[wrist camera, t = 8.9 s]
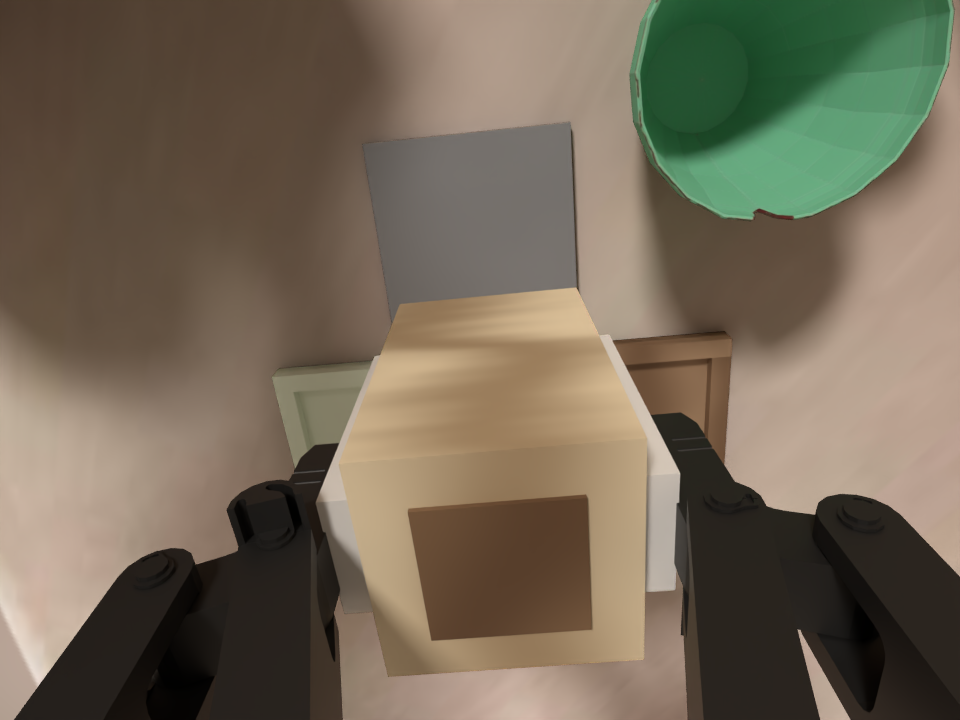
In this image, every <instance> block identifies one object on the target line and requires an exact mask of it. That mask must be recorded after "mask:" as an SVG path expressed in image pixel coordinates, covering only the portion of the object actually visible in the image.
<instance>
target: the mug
mask: <svg viewBox="0 0 960 720" xmlns="http://www.w3.org/2000/svg"><path fill="white" fill-rule="evenodd" d="M954 12H955V9H954V4H953V0H652V1H651V3H650V5H649V7H648V9H647V11H646V13H645V15H644V17H643V19H642V21H641V23H640V27H639V31H638V36H637V41H636V46H635V50H634V55H633V60H632V65H631V69H630V89H631V102H632V113H633V123H634V125H635V127H636V130H637V132H638V135H639V137H640V140H641V142H642V144H643V147H644V149H645V152H646V154H647V157H648V159H649V161H650V163H651V164H652V165H653V167H654V168H655V169H656V170H657V171H658V172H659V173H660V174H661V176H662V177H663V178H664V179H665V180H666V181H667V182H668V183H669V184H670V186H671V187H672V188H673V189H674V190H675V191H676V192H677V193H678V194H679V195H680V196H681V197H683V198H685V199H687V200H688V201H690V202H692V203H694V204H696V205H698V206H700V207H702V208H704V209H706V210H707V211H709V212H711V213H713V214H715V215H717V216H719V217H721V218H723V219H733V220H743V221H753V220H754V219H755V215H754V214H755V213H757V212H760V213H762V214H765V215H768V216H770V217H773V218H776V219H788V220H796V219H801V218H807V217H812V216H814V215H816V214H818V213H820V212H822V211H825V210H827V209H829V208H831V207H833V206H835V205H837V204H839V203H841V202H843V201H845V200H847V199H849V198H852V197H854V196H856V195H857V194H858V193H859V192H861V191H862V190H863V189H864V188H865V187H866V186H868V185H869V184H870V183H871V182H872V181H874V180H875V179H876V178H877V177H878V176H879V175H881V174H882V173H883V172H884V171H885V170H887V169H888V168H889V167H890V166H891V165H892V164H894V163H895V162H896V161H897V159H898V158H899V157H900V155H901V154H902V153H903V151H904V150H905V148H906V147H907V146H908V144H909V143H910V141H911V140H912V139H913V137H914V136H915V135H916V133H917V132H918V130H919V129H920V128H921V126H922V125H923V123H924V122H925V121H926V119H927V118H928V116H929V114H930V111H931V109H932V106H933V104H934V101H935V99H936V96H937V94H938V91H939V88H940V86H941V83H942V81H943V78H944V76H945V73H946V71H947V68H948V66H949V59H950V50H951V40H952V31H953V21H954Z"/></svg>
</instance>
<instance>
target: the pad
mask: <svg viewBox="0 0 960 720" xmlns="http://www.w3.org/2000/svg"><path fill="white" fill-rule="evenodd" d="M362 145H363V151H364V158H365V164H366V170H367V176H368V182H369V188H370V194H371V200H372V206H373V212H374V218H375V224H376V231H377V237H378V243H379V249H380V255H381V261H382V267H383V273H384V279H385V285H386V291H387V297H388V304H389V310H390V316H391V322H392V323H393V320H394V318H395V315H396V313H397V310H398V307H399V305H400V304H407V303H417V302H428V301H438V300H449V299H459V298H470V297H480V296H491V295H502V294H512V293H523V292H533V291H544V290H554V289H565V288H575V287H576V288H577V281H576V255H575V229H574V203H573V177H572V151H571V125H570V122H563V123H554V124H544V125H535V126H525V127H516V128H506V129H497V130H487V131H478V132H468V133H459V134H449V135H440V136H430V137H421V138H411V139H402V140H392V141H383V142H373V143H364V144H362Z"/></svg>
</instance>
